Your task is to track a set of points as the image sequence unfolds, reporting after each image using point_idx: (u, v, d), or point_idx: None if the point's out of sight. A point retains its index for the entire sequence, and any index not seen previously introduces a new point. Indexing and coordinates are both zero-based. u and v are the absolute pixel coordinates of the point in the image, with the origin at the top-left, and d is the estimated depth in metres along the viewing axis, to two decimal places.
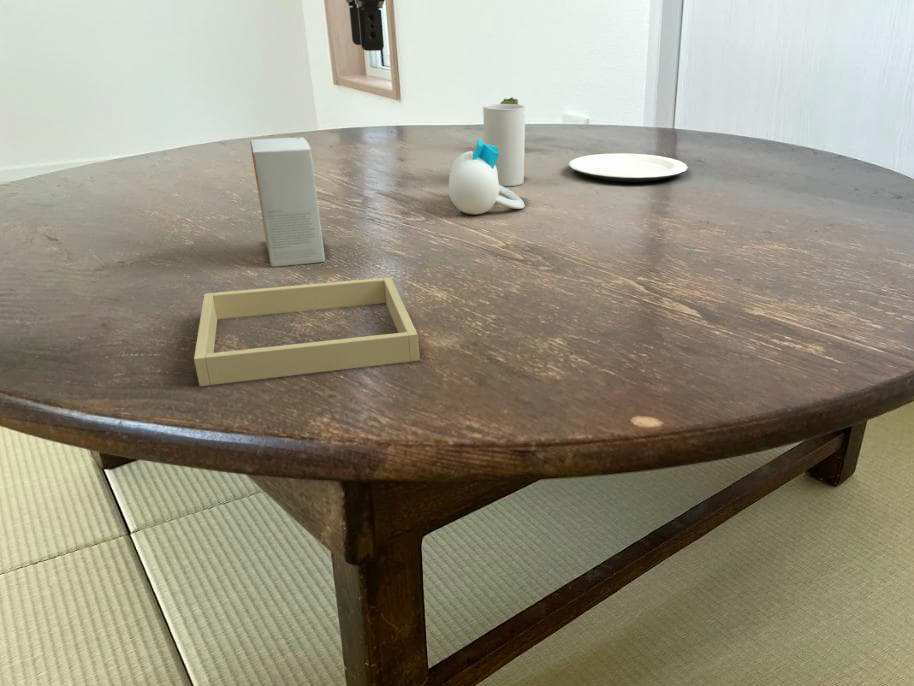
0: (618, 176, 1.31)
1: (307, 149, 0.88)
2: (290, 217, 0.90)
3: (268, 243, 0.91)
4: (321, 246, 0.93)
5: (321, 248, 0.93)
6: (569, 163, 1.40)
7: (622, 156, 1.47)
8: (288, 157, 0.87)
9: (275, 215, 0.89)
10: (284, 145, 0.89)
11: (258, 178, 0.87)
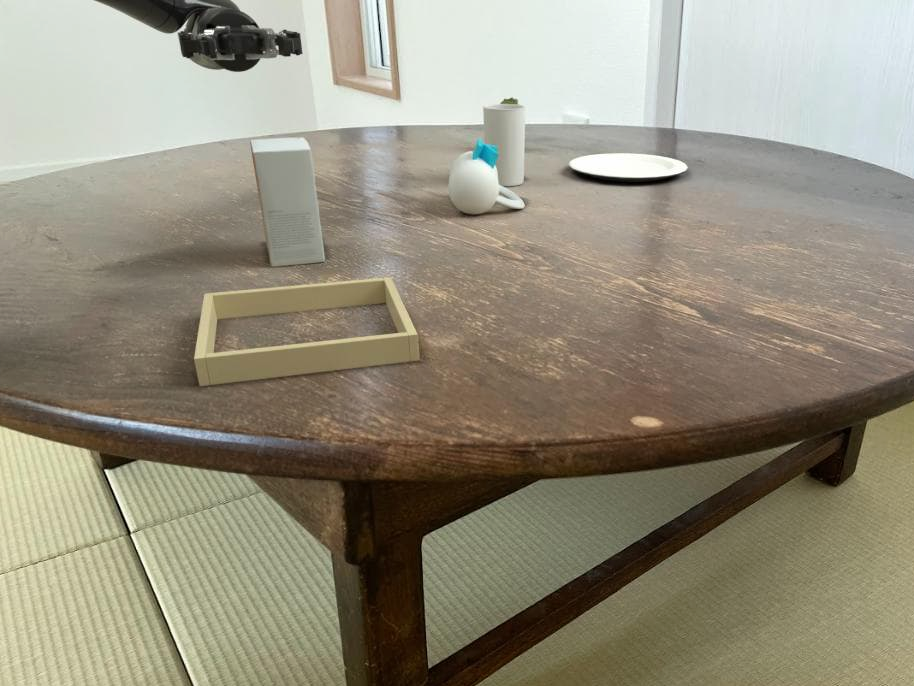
0: (618, 176, 1.31)
1: (307, 149, 0.88)
2: (290, 217, 0.90)
3: (268, 243, 0.91)
4: (321, 246, 0.93)
5: (321, 247, 0.93)
6: (569, 163, 1.40)
7: (622, 156, 1.47)
8: (288, 157, 0.87)
9: (275, 215, 0.89)
10: (284, 145, 0.89)
11: (258, 178, 0.87)
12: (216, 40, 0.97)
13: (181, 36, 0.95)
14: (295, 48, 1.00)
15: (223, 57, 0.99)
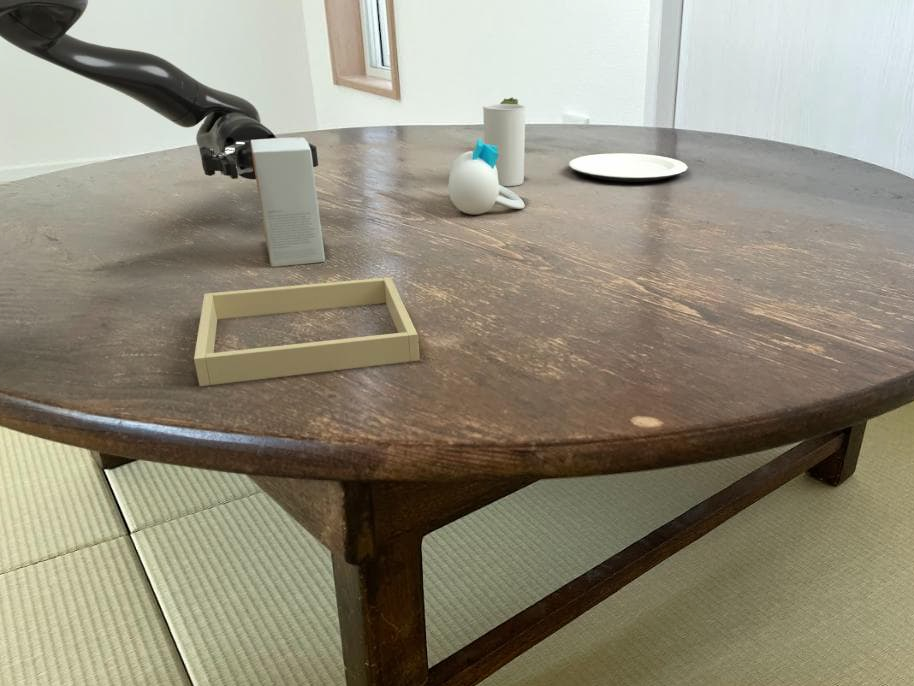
0: (618, 176, 1.31)
1: (307, 149, 0.88)
2: (290, 217, 0.90)
3: (268, 243, 0.91)
4: (321, 246, 0.93)
5: (321, 247, 0.93)
6: (569, 163, 1.40)
7: (622, 156, 1.47)
8: (288, 157, 0.87)
9: (275, 215, 0.89)
10: (284, 145, 0.89)
11: (258, 178, 0.87)
12: (236, 157, 1.02)
13: (203, 156, 0.99)
14: None
15: (243, 171, 1.04)
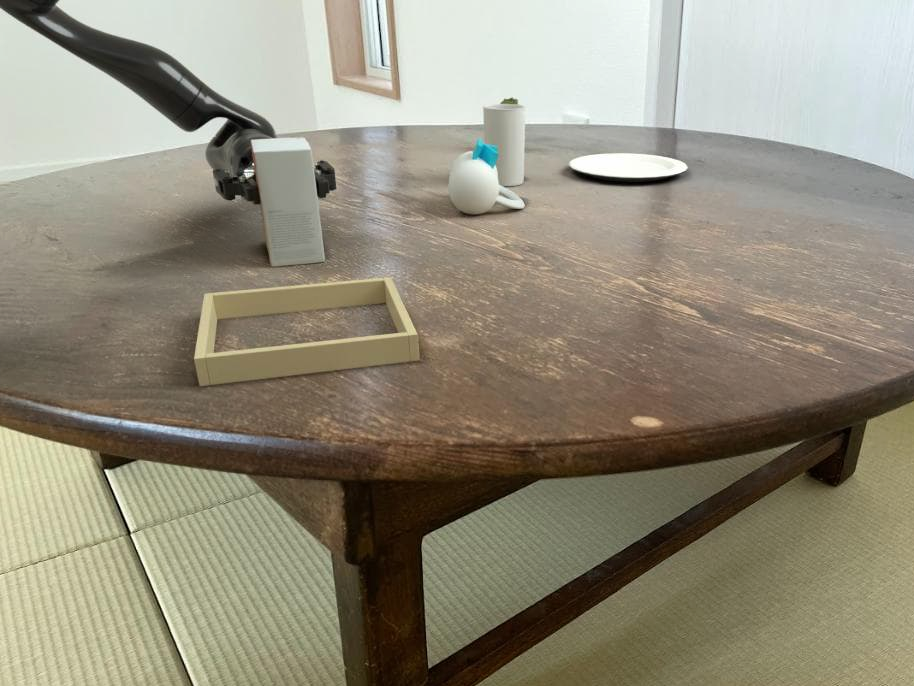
0: (618, 176, 1.31)
1: (307, 149, 0.88)
2: (290, 217, 0.90)
3: (268, 243, 0.91)
4: (321, 246, 0.93)
5: (321, 248, 0.93)
6: (569, 163, 1.40)
7: (622, 156, 1.47)
8: (288, 157, 0.87)
9: (275, 215, 0.89)
10: (284, 145, 0.89)
11: (258, 178, 0.87)
12: None
13: (224, 180, 0.91)
14: (329, 184, 0.96)
15: None
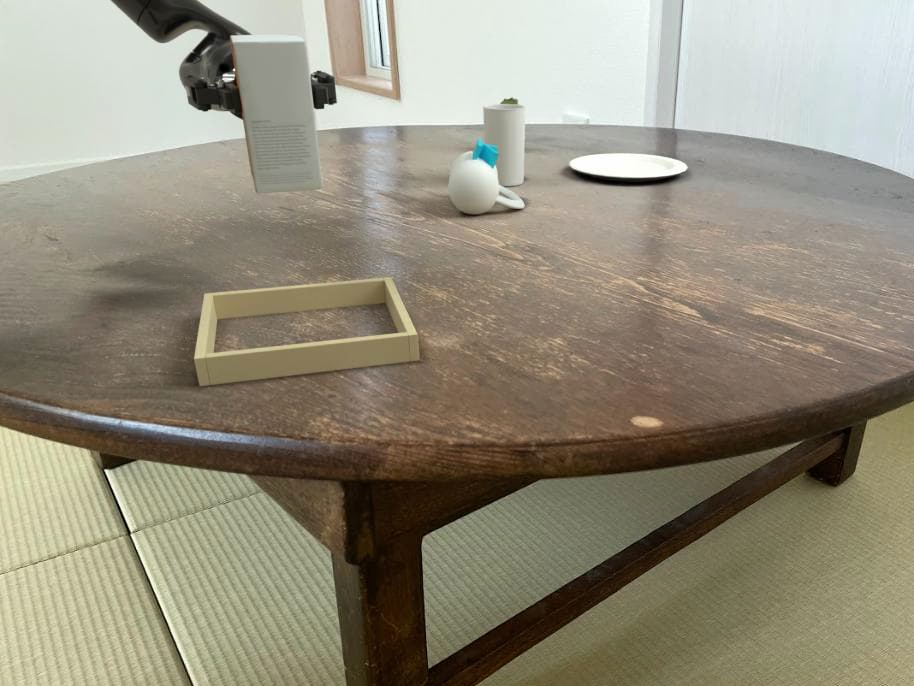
0: (618, 176, 1.31)
1: (301, 41, 0.70)
2: (280, 129, 0.72)
3: (252, 163, 0.73)
4: (318, 169, 0.75)
5: (318, 171, 0.75)
6: (569, 163, 1.40)
7: (622, 156, 1.47)
8: (277, 50, 0.69)
9: (260, 126, 0.71)
10: (272, 38, 0.71)
11: (239, 77, 0.69)
12: None
13: (196, 84, 0.73)
14: (328, 96, 0.78)
15: None
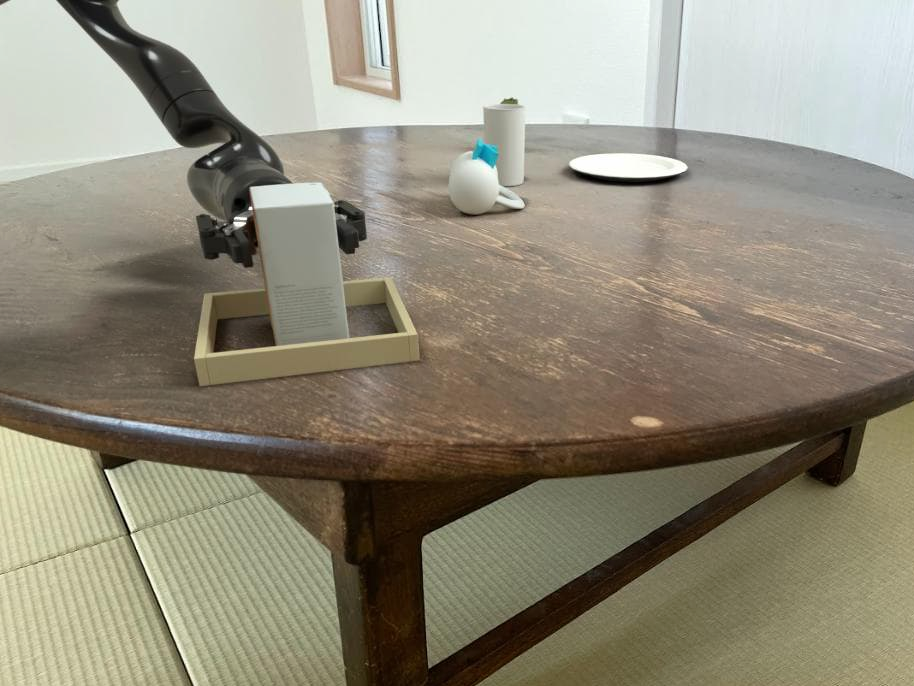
0: (618, 176, 1.31)
1: (328, 203, 0.64)
2: (305, 292, 0.66)
3: (274, 328, 0.67)
4: (345, 329, 0.69)
5: (345, 331, 0.69)
6: (569, 163, 1.40)
7: (622, 156, 1.47)
8: (302, 214, 0.64)
9: (284, 291, 0.66)
10: (296, 196, 0.65)
11: (261, 243, 0.63)
12: (250, 230, 0.70)
13: (202, 232, 0.67)
14: (358, 233, 0.73)
15: None
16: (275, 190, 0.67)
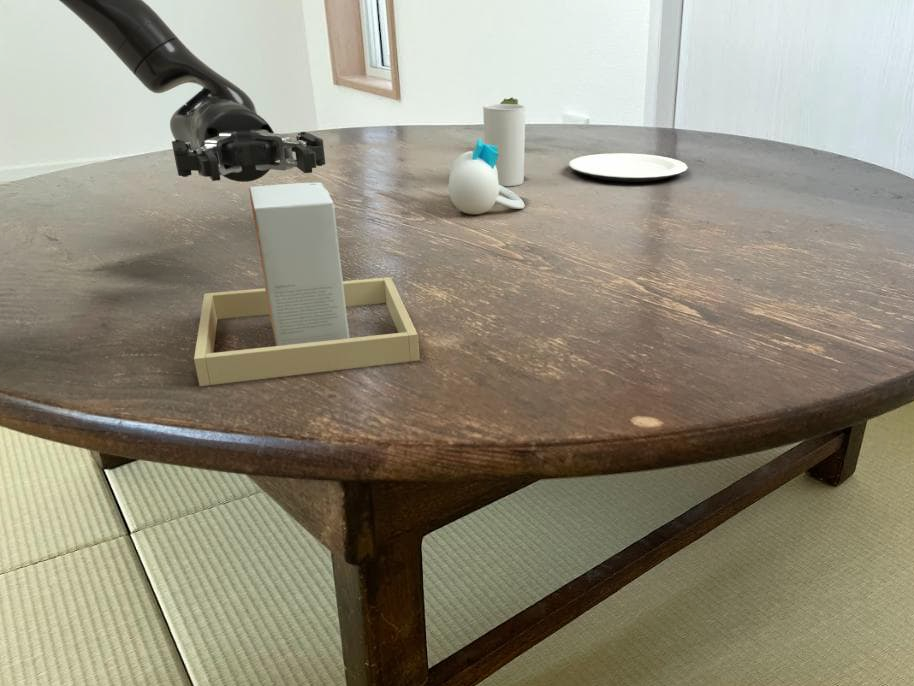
0: (618, 176, 1.31)
1: (328, 203, 0.64)
2: (305, 292, 0.66)
3: (274, 328, 0.67)
4: (345, 329, 0.69)
5: (345, 331, 0.69)
6: (569, 163, 1.40)
7: (622, 156, 1.47)
8: (302, 214, 0.64)
9: (284, 291, 0.66)
10: (296, 196, 0.65)
11: (261, 243, 0.63)
12: (219, 152, 0.78)
13: (176, 151, 0.76)
14: (317, 158, 0.82)
15: (228, 171, 0.80)
16: (275, 190, 0.67)
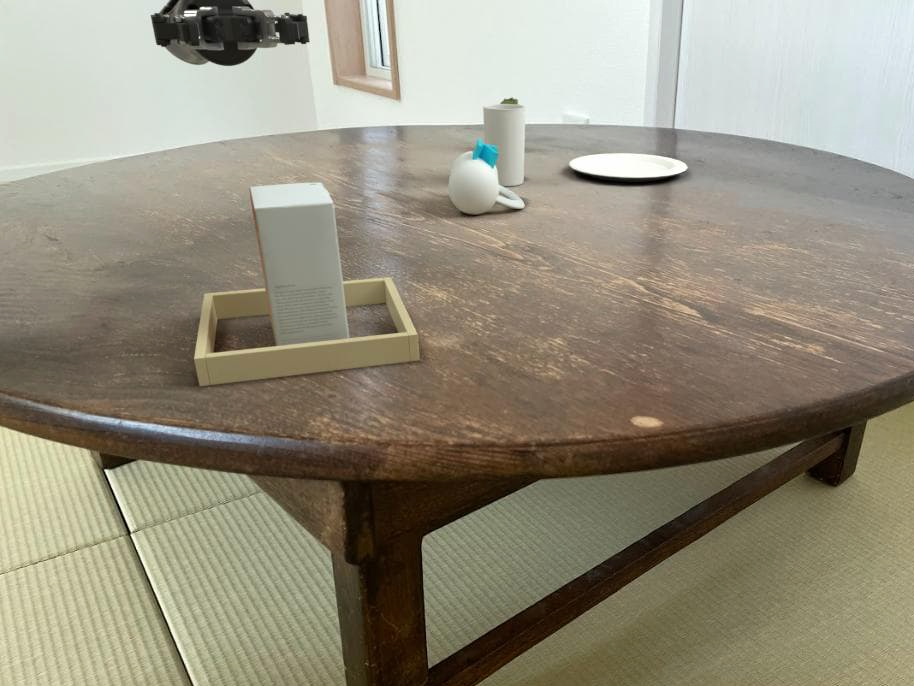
0: (618, 176, 1.31)
1: (328, 203, 0.64)
2: (305, 292, 0.66)
3: (274, 328, 0.67)
4: (345, 329, 0.69)
5: (345, 331, 0.69)
6: (569, 163, 1.40)
7: (622, 156, 1.47)
8: (302, 214, 0.64)
9: (284, 291, 0.66)
10: (296, 196, 0.65)
11: (261, 243, 0.63)
12: (199, 24, 0.76)
13: (154, 18, 0.73)
14: (300, 35, 0.79)
15: (209, 46, 0.78)
16: (275, 190, 0.67)
